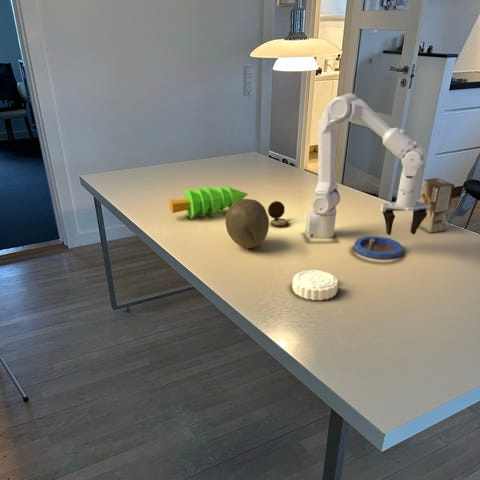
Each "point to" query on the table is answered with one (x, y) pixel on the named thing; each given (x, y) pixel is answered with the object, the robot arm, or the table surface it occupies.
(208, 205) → the decorative tree
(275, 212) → the compass
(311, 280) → the mooncake
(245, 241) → the brown coconut
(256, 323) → the table surface
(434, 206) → the coffee box
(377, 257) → the ring
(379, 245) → the platform
